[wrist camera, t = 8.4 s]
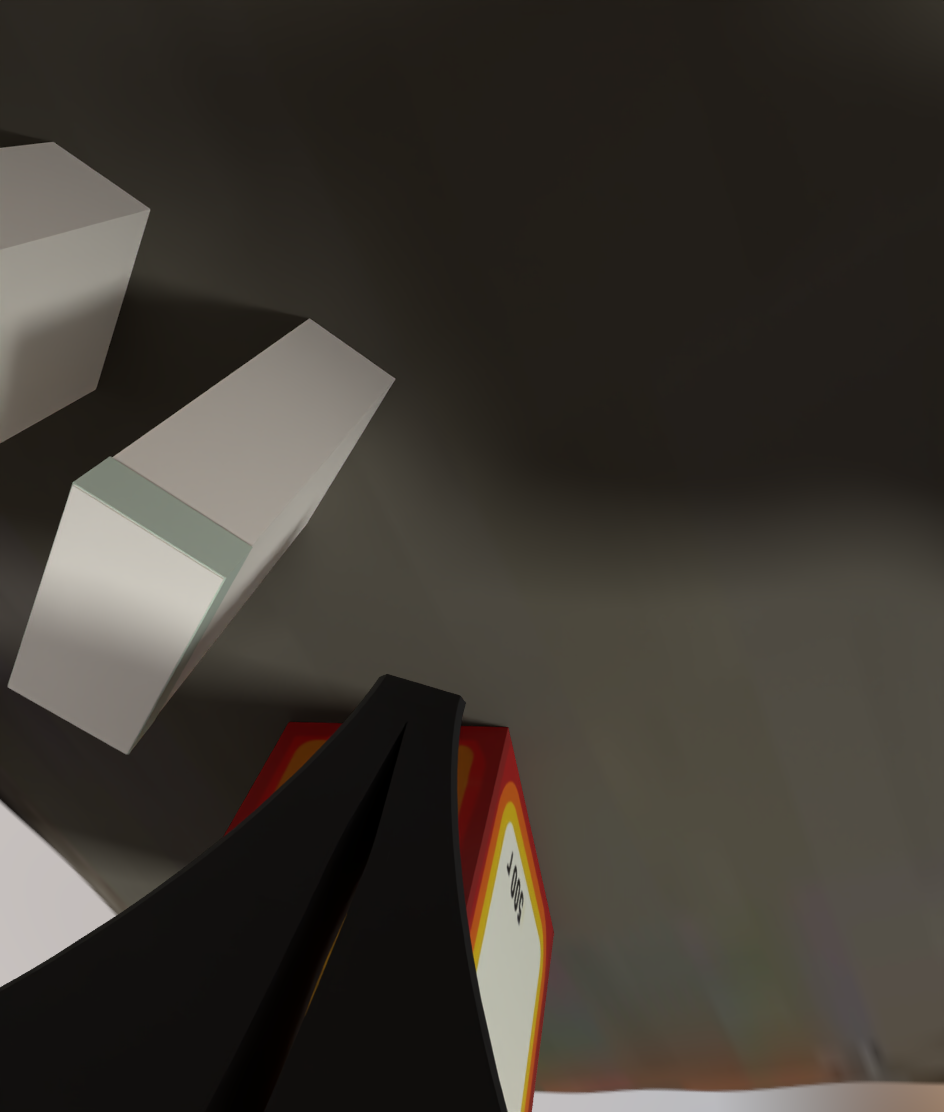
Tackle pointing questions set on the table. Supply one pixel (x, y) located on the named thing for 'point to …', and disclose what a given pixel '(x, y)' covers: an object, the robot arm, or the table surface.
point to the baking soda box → (475, 889)
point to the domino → (58, 278)
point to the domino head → (188, 532)
